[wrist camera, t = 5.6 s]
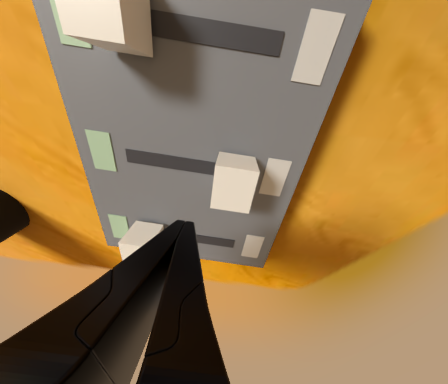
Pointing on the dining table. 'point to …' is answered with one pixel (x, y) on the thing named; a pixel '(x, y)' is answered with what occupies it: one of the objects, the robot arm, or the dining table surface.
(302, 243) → the dining table surface
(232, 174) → the block
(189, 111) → the grey slider switch panel
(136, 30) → the block
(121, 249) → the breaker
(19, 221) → the wine bottle
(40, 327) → the robot arm
